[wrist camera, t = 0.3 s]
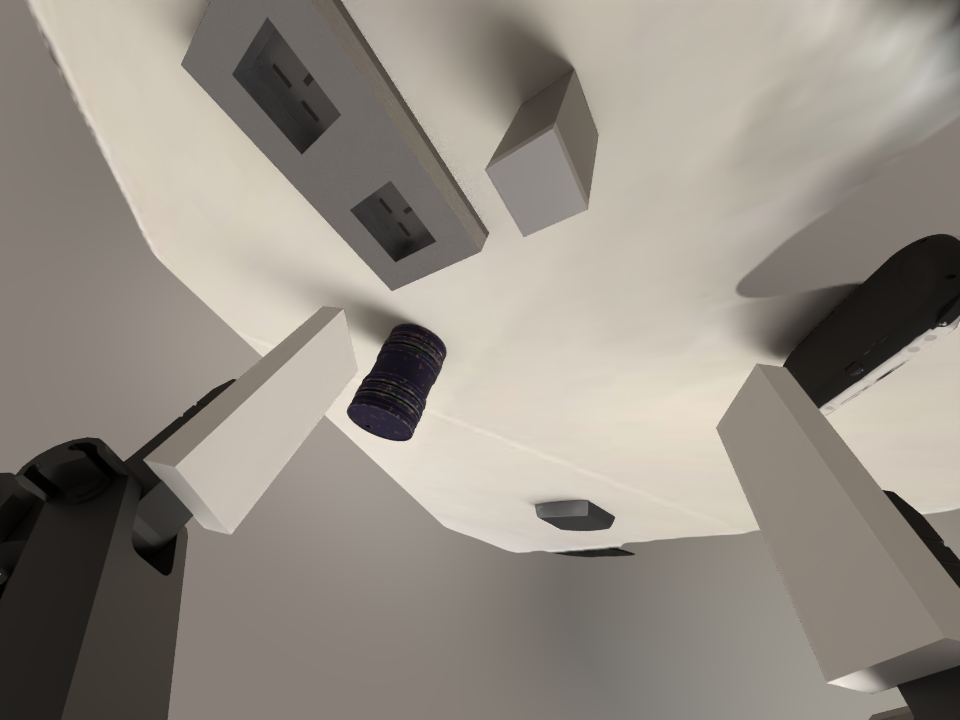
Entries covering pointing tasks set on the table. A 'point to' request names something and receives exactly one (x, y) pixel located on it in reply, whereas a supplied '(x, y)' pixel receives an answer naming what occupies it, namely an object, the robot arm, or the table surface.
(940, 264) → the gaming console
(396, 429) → the storage jar
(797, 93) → the table surface
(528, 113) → the plug
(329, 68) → the socket board
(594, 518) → the external hard drive
